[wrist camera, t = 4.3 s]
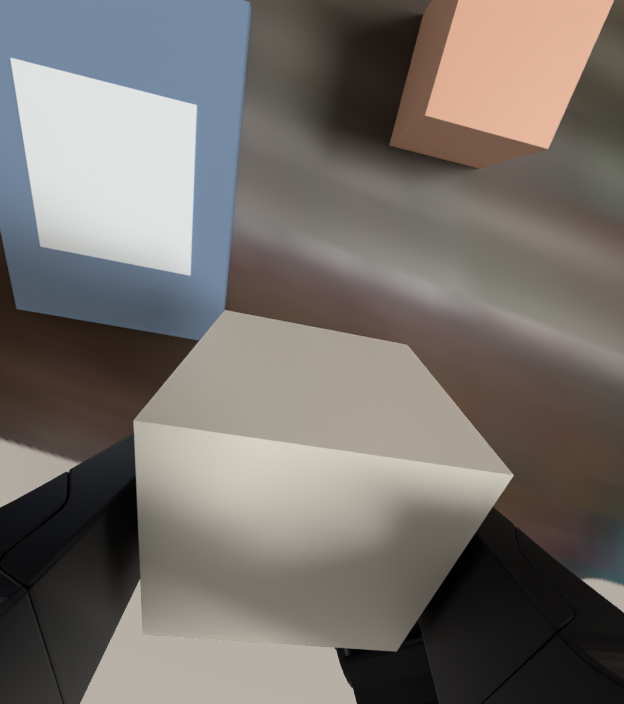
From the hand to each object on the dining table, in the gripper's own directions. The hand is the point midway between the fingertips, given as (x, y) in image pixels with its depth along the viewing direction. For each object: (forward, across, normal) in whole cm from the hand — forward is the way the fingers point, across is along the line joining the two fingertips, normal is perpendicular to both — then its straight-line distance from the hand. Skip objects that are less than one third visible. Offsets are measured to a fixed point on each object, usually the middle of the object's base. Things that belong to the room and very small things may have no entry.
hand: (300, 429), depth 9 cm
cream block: (+1, 0, 0) cm, 1 cm away
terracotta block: (+11, -5, -12) cm, 17 cm away
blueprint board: (+11, +11, -5) cm, 16 cm away
